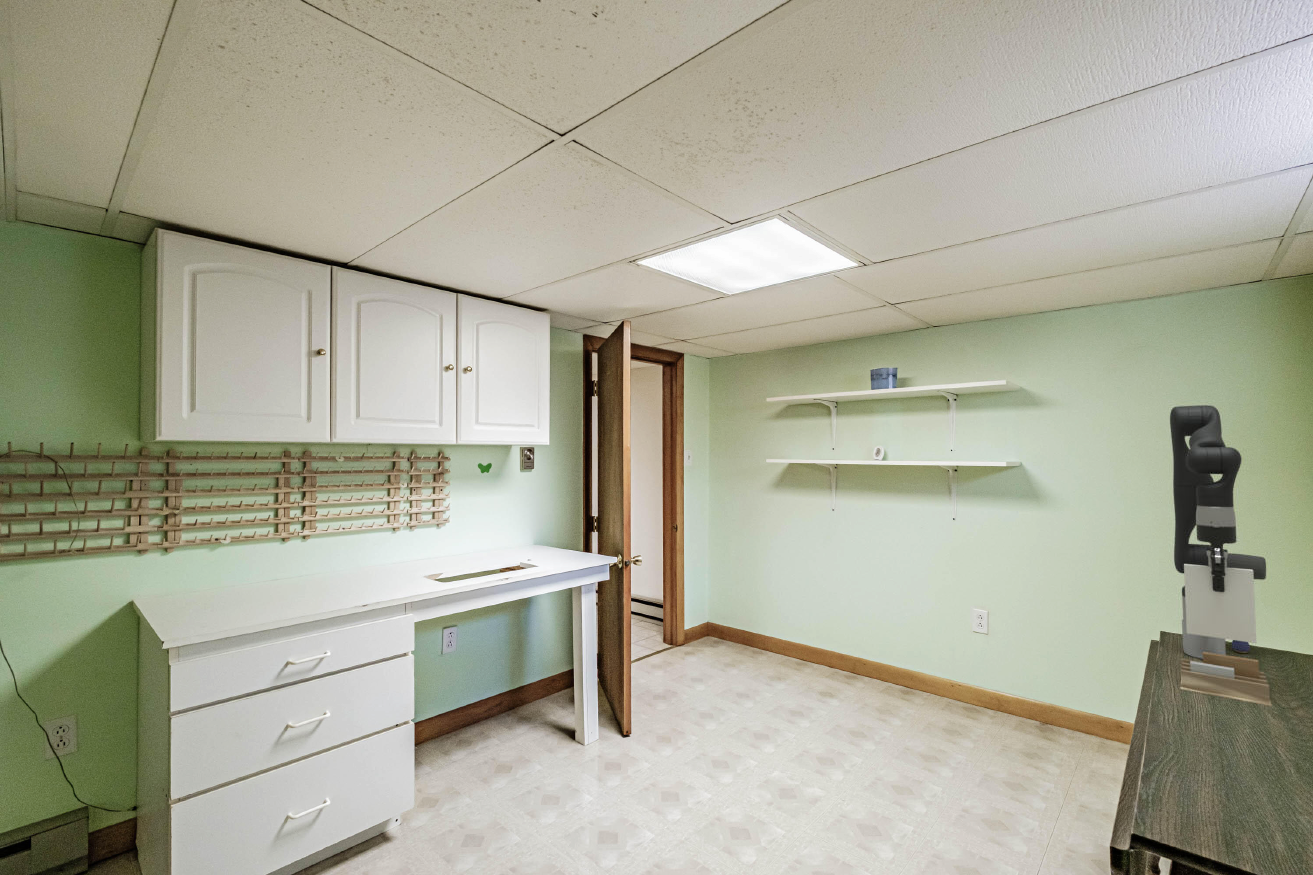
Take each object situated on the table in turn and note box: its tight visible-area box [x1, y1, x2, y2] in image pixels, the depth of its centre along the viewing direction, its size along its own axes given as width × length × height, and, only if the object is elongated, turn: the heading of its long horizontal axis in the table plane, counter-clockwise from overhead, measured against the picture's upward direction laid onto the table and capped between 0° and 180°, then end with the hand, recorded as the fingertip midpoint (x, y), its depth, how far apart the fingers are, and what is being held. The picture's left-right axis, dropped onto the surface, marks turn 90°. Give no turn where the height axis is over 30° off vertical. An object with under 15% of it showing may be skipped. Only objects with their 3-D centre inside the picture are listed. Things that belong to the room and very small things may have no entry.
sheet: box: [1184, 564, 1257, 644], centre depth 154 cm, size 2×13×18 cm, turn 48°
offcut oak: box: [1202, 652, 1260, 679], centre depth 149 cm, size 2×10×8 cm, turn 48°
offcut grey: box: [1190, 660, 1235, 679], centre depth 148 cm, size 2×8×6 cm, turn 48°
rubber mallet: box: [1227, 552, 1267, 654], centre depth 182 cm, size 12×8×30 cm, turn 40°
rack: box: [1180, 658, 1272, 707], centre depth 150 cm, size 16×16×5 cm
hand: (1218, 590), depth 154 cm, fingers closed on sheet, 2 cm apart
